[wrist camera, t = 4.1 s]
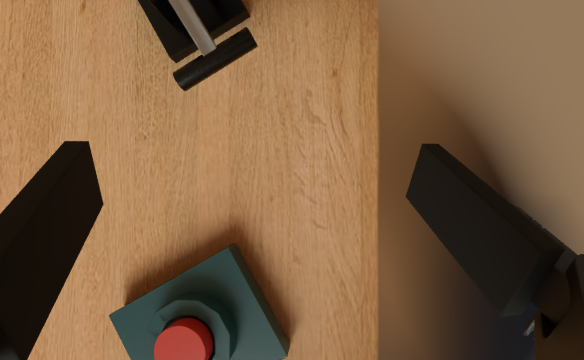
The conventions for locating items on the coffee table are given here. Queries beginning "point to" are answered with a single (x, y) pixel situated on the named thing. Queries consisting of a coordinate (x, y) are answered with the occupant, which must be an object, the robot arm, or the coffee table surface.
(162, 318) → the control block
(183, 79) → the lever
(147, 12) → the bracket
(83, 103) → the coffee table surface
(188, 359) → the button
